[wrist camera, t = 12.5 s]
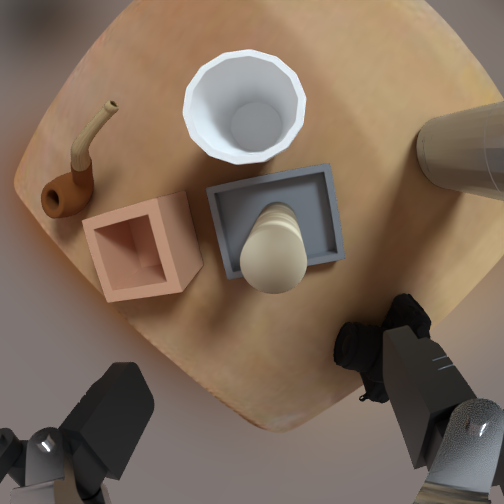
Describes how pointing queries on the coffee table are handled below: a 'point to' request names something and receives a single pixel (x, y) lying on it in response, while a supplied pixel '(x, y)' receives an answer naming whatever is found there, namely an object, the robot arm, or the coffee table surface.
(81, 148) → the smoking pipe
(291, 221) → the maple dowel
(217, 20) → the coffee table surface
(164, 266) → the deep box
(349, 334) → the film camera
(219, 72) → the foam cup
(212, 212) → the tray
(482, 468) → the robot arm
